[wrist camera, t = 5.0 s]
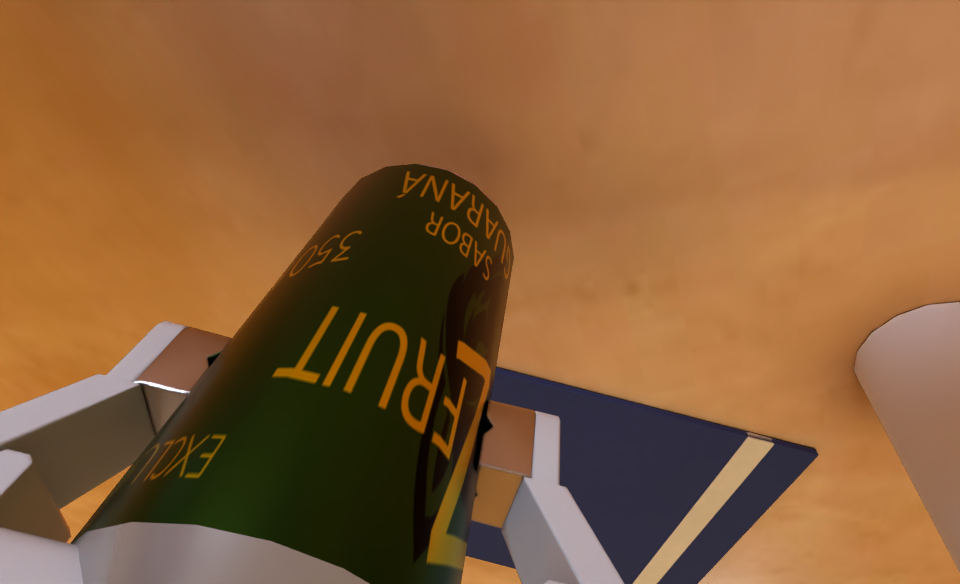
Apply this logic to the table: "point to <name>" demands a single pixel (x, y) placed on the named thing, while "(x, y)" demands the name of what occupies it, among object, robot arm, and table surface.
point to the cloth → (651, 480)
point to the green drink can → (332, 409)
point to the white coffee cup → (921, 404)
